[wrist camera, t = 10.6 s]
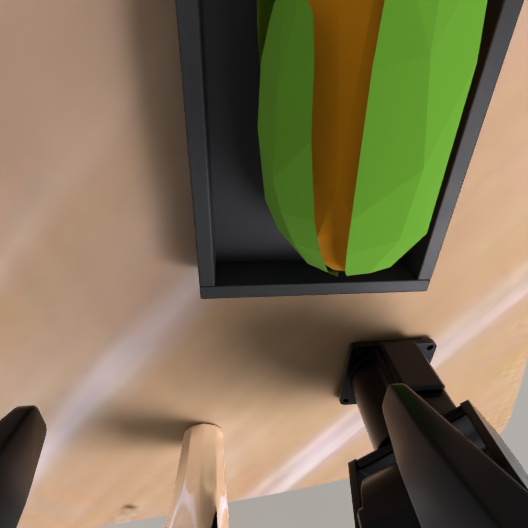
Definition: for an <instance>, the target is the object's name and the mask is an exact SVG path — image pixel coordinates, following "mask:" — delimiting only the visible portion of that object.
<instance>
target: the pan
mask: <svg viewBox="0 0 528 528" xmlns="http://www.w3.org/2000/svg"><path fill="white" fill-rule="evenodd" d="M523 2H524V0H487V6H486V12H485V18H484V24H483V30H482V36H481V42H480V48H479V54H478V60H477V64H476V68H475V71H474V75H473V78H472V81H471V85H470V88H469V92H468V95H467V98H466V102H465V105H464V109H463V112H462V115H461V119H460V122H459V126H458V129H457V132H456V136H455V139H454V143H453V146H452V149H451V153H450V156H449V160H448V163H447V166H446V170H445V173H444V177H443V180H442V183H441V187H440V190H439V194H438V197H437V200H436V204H435V207H434V211H433V214H432V217H431V221H430V224H429V228H428V231H427V234H426V235H425V236H424V237H422V238H421V239H420V240H419V241H418V242H417V243H416V244H415V245H414V246H413V247H412V248H411V249H409V250H408V251H407V252H406V253H405V254H404V255H403V256H402V257H401V258H400V259H399V260H397V261H396V262H395V263H394V264H393V265H392V266H391V267H389V268H386V269H382V270H379V271H375V272H372V273H368V274H359V275H350V276H347V275H346V273H345V271H340V270H333V269H331V268H330V267H328V266H326V265H325V266H326V268H327V270H331V271H337V272H338V277H337V276H335V275H332V274H330V273H328V272H325V271H323V270H321V269H319V268H316V267H314V266H312V265H310V264H308V263H307V262H306V261H305V260H304V259H303V258H302V257H301V255H300V254H299V253H298V252H297V251H296V250H295V248H294V247H293V246H292V245H291V244H290V243H289V241H288V240H287V239H286V238H285V237H284V235H283V234H282V233H281V232H280V231H279V230H278V228H277V226H276V224H275V221H274V219H273V217H272V215H271V212H270V210H269V208H268V206H267V203H266V201H265V194H264V184H263V175H262V165H261V155H260V146H259V136H258V110H259V91H260V60H259V44H258V28H257V0H175V3H176V15H177V27H178V38H179V50H180V62H181V73H182V85H183V97H184V108H185V120H186V132H187V143H188V155H189V167H190V178H191V190H192V202H193V213H194V225H195V237H196V248H197V260H198V272H199V283H200V295H201V299H213V298H241V297H270V296H299V295H327V294H356V293H384V292H413V291H427V288H428V285H429V282H430V279H431V277H432V274H433V271H434V268H435V265H436V262H437V259H438V256H439V253H440V250H441V247H442V244H443V241H444V238H445V235H446V232H447V229H448V226H449V223H450V220H451V217H452V214H453V211H454V208H455V205H456V202H457V199H458V196H459V193H460V190H461V187H462V184H463V181H464V178H465V175H466V172H467V169H468V166H469V163H470V160H471V157H472V154H473V151H474V148H475V145H476V142H477V139H478V136H479V133H480V130H481V127H482V124H483V121H484V118H485V115H486V112H487V109H488V106H489V103H490V100H491V97H492V94H493V91H494V88H495V85H496V82H497V79H498V76H499V73H500V70H501V67H502V64H503V61H504V58H505V55H506V52H507V49H508V46H509V43H510V40H511V37H512V34H513V31H514V28H515V25H516V22H517V19H518V16H519V13H520V11H521V8H522V5H523Z"/></svg>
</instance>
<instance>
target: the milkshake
mask: <svg viewBox="0 0 528 528" xmlns="http://www.w3.org/2000/svg"><path fill="white" fill-rule="evenodd" d="M165 528H230V524H229V513H228V503H227V492H226V478H225V463H224V447H223V433H222V431H221V430H220V429H219V428H218V427H217V426H216V425H211V424H206V423H203V424H198V425H193V426H191V427H190V428H189V429H188V430H186V431H185V433H184V438H183V443H182V448H181V454H180V459H179V465H178V470H177V475H176V480H175V486H174V491H173V496H172V500H171V505H170V509H169V514H168V519H167V523H166V527H165Z"/></svg>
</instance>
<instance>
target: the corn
mask: <svg viewBox="0 0 528 528" xmlns="http://www.w3.org/2000/svg"><path fill="white" fill-rule="evenodd" d="M486 6H487V0H257V28H258V44H259V60H260V91H259V110H258V136H259V146H260V155H261V165H262V175H263V184H264V194H265V201H266V203H267V206H268V208H269V210H270V212H271V215H272V217H273V219H274V221H275V224H276V226H277V228H278V230H279V231H280V232H281V233H282V234H283V235H284V237H285V238H286V239H287V240H288V241H289V243H290V244H291V245H292V246H293V247H294V248H295V250H296V251H297V252H298V253H299V254H300V255H301V257H302V258H303V259H304V260H305V261H306V262H307V263H308V264H310V265H312V266H314V267H316V268H319V269H321V270H323V271H325V272H328V273H330V274H332V275H335V276H337V277H338V272H337V271H331V270H327V268H326V266H328V267H330V268H331V269H333V270H340V271H345V273H346V275H347V276H350V275H359V274H368V273H372V272H375V271H379V270H382V269H386V268H389V267H391V266H392V265H393V264H394V263H395V262H396V261H397V260H399V259H400V258H401V257H402V256H403V255H404V254H405V253H406V252H407V251H408V250H409V249H411V248H412V247H413V246H414V245H415V244H416V243H417V242H418V241H419V240H420V239H421V238H422V237H424V236H425V235H426V234H427V231H428V228H429V224H430V221H431V217H432V214H433V211H434V207H435V204H436V200H437V197H438V194H439V190H440V187H441V183H442V180H443V177H444V173H445V170H446V166H447V163H448V160H449V156H450V153H451V149H452V146H453V143H454V139H455V136H456V132H457V129H458V126H459V122H460V119H461V115H462V112H463V109H464V105H465V102H466V98H467V95H468V92H469V88H470V85H471V81H472V78H473V75H474V71H475V68H476V64H477V60H478V54H479V48H480V42H481V36H482V30H483V24H484V18H485V12H486ZM325 265H326V266H325Z"/></svg>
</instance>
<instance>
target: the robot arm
mask: <svg viewBox="0 0 528 528" xmlns="http://www.w3.org/2000/svg"><path fill="white" fill-rule="evenodd" d="M436 346H437V345H436V343H435V342H434V341H433V340H432V339H414V340H393V341H373V342H356V343H353V344H351V345H350V347H349V350H348V355H347V359H346V364H345V369H344V374H343V378H342V383H341V388H340V392H339V401H340V403H341V404H343V405H348V404H357V405H358V408H359V411H360V413H361V416H362V419H363V421H364V424H365V427H366V429H367V432H368V435H369V437H370V440H371V443H372V445H373V448H374V451H373V452H371V453H369V454H367V455H365V456H363V457H362V458H360V459H358V460H356V459H354V460H353V461H351V462H349V463H348V466H349V475H350V485H351V494H352V503H353V511H354V520H355V528H528V476H527V474H526V472H525V471H524V469H523V467H522V466H521V464H520V463H519V461H518V460H517V459H516V457H515V456H514V455H513V453H512V452H511V451H510V449H509V448H508V447H507V445H506V444H505V443H504V441H503V440H502V438H501V437H500V436H499V434H498V433H497V432H496V430H495V429H494V428H493V427H492V426H491V425H490V424H489V422H488V421H487V420H486V419H485V418H484V417H483V416H482V415H481V413H480V412H479V411H478V410H477V409H476V408H475V407H474V406H473V404H472V403H471V402H470V401H469V400H466V401H464V402H462V403H460V406H458V407H457V408H456V406H455V405H454V403H453V402H452V400H451V398H450V397H449V395H448V394H447V392H446V391H445V389H444V388H445V386H444V384H443V383H442V381H441V380H440V378H439V376H438V375H437V373H436V372H435V370H434V369H433V367H432V366H431V364H430V362H431V359H432V357H433V354H434V352H435V349H436ZM356 349H357V350H356ZM46 431H47V428H46V424H45V422H44V420H43V418H42V416H41V414H40V412H39V410H38V408H37V407H36V406H19V407H16V408H15V409H13V410H12V411H11V412H10V413H8V414H7V415H6V416H5V417H4V418H3V419H1V420H0V528H16V527H17V524H18V522H19V519H20V517H21V514H22V512H23V509H24V506H25V504H26V501H27V498H28V495H29V492H30V488H31V485H32V481H33V478H34V474H35V471H36V468H37V464H38V461H39V457H40V454H41V450H42V447H43V443H44V440H45V436H46Z"/></svg>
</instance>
